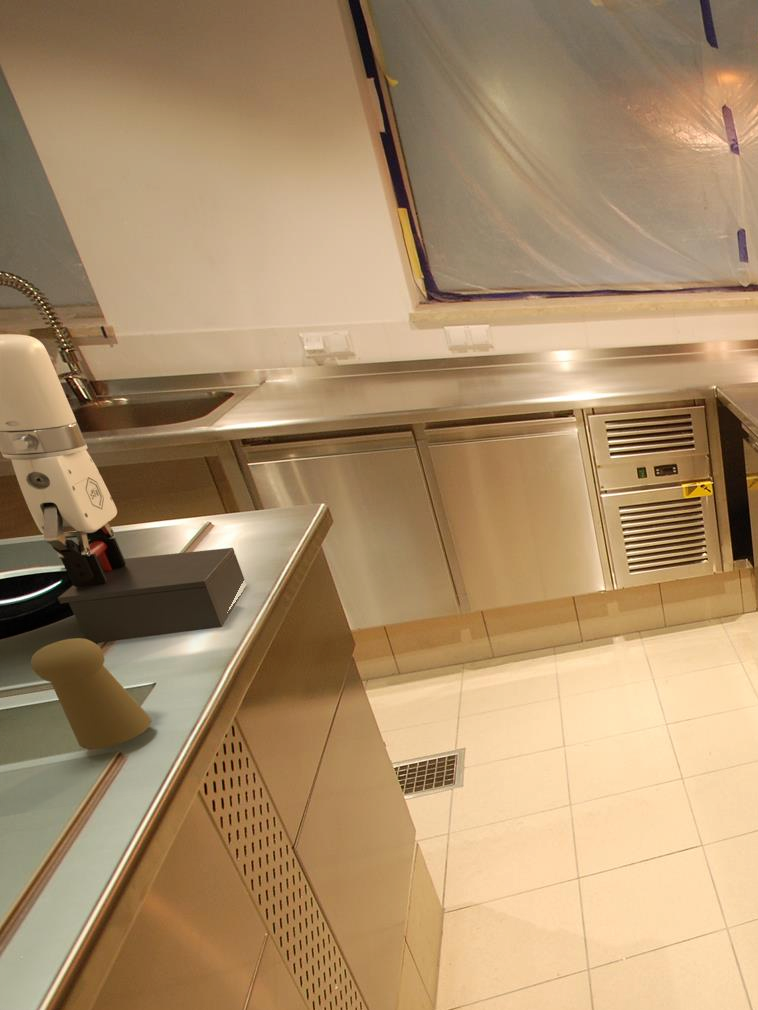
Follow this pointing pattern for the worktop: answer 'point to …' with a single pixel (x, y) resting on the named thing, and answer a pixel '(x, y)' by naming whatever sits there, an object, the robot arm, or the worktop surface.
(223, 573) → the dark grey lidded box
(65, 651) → the cork
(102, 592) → the box lid
